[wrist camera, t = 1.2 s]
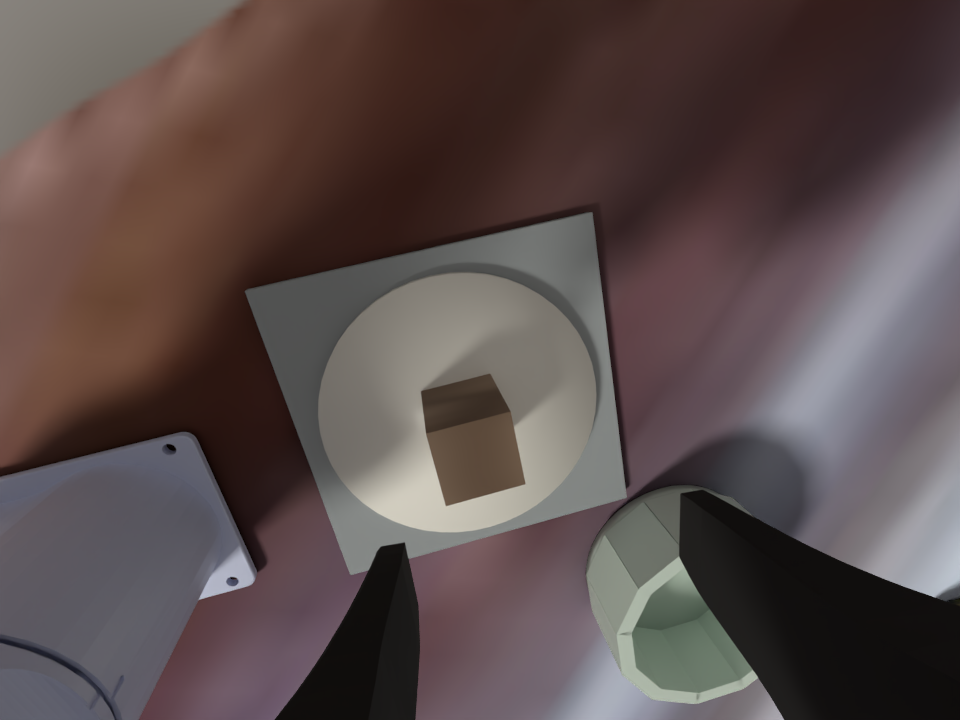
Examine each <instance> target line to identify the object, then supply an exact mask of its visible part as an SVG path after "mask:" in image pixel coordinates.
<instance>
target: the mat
mask: <svg viewBox="0 0 960 720" xmlns="http://www.w3.org/2000/svg"><path fill="white" fill-rule="evenodd" d="M447 272H476V273H486V274H491V275H495V276H499V277H503V278H507V279H509V280H512V281H514V282H517V283H519V284H522V285H524V286H526V287H527V288H529V289H531V290H533V291H535V292H536V293H538V294H540V295H541V296H543V297H544V298H545V299H547V300H548V301H549V302H550V303H552V304H553V305H554V306H556V307H557V308H558V309H559V310H560V311H561V312H562V313H563V314H564V315H565V316H566V317H567V318H568V320H569V321H570V322H571V324H572V325H573V326H574V328H575V329H576V330H577V332H578V333H579V335H580V337H581V339H582V341H583V343H584V344H585V346H586V348H587V351H588V354H589V357H590V359H591V362H592V366H593V371H594V375H595V381H596V411H595V416H594V421H593V426H592V430H591V433H590V436H589V439H588V442H587V444H586V446H585V448H584V450H583V452H582V455H581V457H580V458H579V460H578V462H577V463H576V465H575V466H574V468H573V469H572V471H571V472H570V473H569V475H568V476H567V477H566V478H565V480H564V481H563V482H562V483H561V484H560V485H559V486H558V487H557V488H556V489H555V490H554V491H553V492H552V493H551V494H550V495H549V496H548V497H546V498H545V499H544V500H543V501H541V502H540V503H539V504H537V505H536V506H534V507H533V508H531V509H530V510H528V511H526V512H525V513H523V514H521V515H519V516H517V517H515V518H513V519H511V520H508V521H506V522H503V523H500V524H497V525H495V526H492V527H488V528H483V529H479V530H474V531H465V532H434V531H425V530H420V529H416V528H412V527H408V526H405V525H402V524H400V523H397V522H394V521H392V520H390V519H388V518H386V517H384V516H382V515H380V514H378V513H376V512H375V511H374V510H372V509H371V508H369V507H368V506H366V505H365V504H363V503H362V502H361V501H360V500H359V499H358V498H357V497H356V496H355V495H353V494H352V493H351V492H350V490H349V489H348V488H347V487H346V486H345V484H344V483H343V482H342V481H341V480H340V478H339V477H338V475H337V473H336V472H335V470H334V469H333V467H332V465H331V463H330V461H329V459H328V456H327V454H326V452H325V449H324V446H323V442H322V438H321V435H320V428H319V420H318V398H319V392H320V387H321V381H322V378H323V375H324V372H325V369H326V365H327V363H328V360H329V358H330V356H331V354H332V352H333V350H334V348H335V346H336V344H337V342H338V340H339V339H340V338H341V336H342V335H343V333H344V332H345V330H346V329H347V327H348V326H349V325H350V324H351V323H352V322H353V321H354V319H355V318H356V317H357V316H358V315H359V314H360V313H361V312H362V311H363V310H364V309H366V308H367V307H368V306H369V305H370V304H372V303H373V302H374V301H375V300H377V299H378V298H380V297H381V296H383V295H385V294H386V293H388V292H389V291H391V290H392V289H395V288H397V287H399V286H401V285H403V284H406V283H408V282H410V281H413V280H416V279H419V278H423V277H426V276H429V275H435V274H441V273H447ZM245 293H246V296H247V299H248V301H249V304H250V307H251V309H252V312H253V315H254V318H255V320H256V323H257V326H258V328H259V331H260V334H261V336H262V339H263V342H264V344H265V347H266V350H267V352H268V355H269V358H270V360H271V363H272V366H273V369H274V371H275V374H276V377H277V379H278V382H279V385H280V387H281V390H282V393H283V395H284V398H285V401H286V403H287V406H288V409H289V411H290V414H291V417H292V420H293V422H294V425H295V428H296V430H297V433H298V436H299V438H300V441H301V444H302V446H303V449H304V452H305V454H306V457H307V460H308V463H309V465H310V468H311V471H312V473H313V476H314V479H315V481H316V484H317V487H318V489H319V492H320V495H321V497H322V500H323V503H324V505H325V508H326V511H327V514H328V516H329V519H330V522H331V524H332V527H333V530H334V532H335V535H336V538H337V540H338V543H339V546H340V548H341V551H342V554H343V556H344V559H345V562H346V565H347V567H348V570H349V573H350V575H353V574H356V573H360V572H364V571H367V570H369V568H370V566H371V564H372V562H373V560H374V557H375V555H376V552H377V551H378V549H379V548H380V547H381V546H386V545H392V544H398V543H403V542H405V545H406V550H407V554H408V559H410V558H414V557H417V556H421V555H424V554H428V553H431V552H435V551H439V550H442V549H446V548H449V547H453V546H456V545H460V544H464V543H467V542H471V541H474V540H478V539H481V538H485V537H489V536H492V535H496V534H499V533H503V532H506V531H510V530H514V529H517V528H521V527H524V526H528V525H531V524H535V523H539V522H542V521H546V520H549V519H553V518H556V517H560V516H564V515H567V514H571V513H574V512H578V511H581V510H585V509H589V508H592V507H596V506H599V505H603V504H606V503H610V502H614V501H617V500H621V499H624V498H627V496H626V488H625V479H624V471H623V463H622V454H621V446H620V438H619V429H618V421H617V413H616V404H615V396H614V388H613V379H612V371H611V363H610V354H609V346H608V338H607V329H606V321H605V313H604V304H603V296H602V288H601V279H600V271H599V263H598V254H597V246H596V238H595V229H594V221H593V213H592V212H586V213H582V214H577V215H573V216H568V217H564V218H560V219H555V220H551V221H546V222H542V223H537V224H533V225H529V226H524V227H520V228H515V229H511V230H507V231H502V232H498V233H493V234H489V235H484V236H480V237H476V238H471V239H467V240H462V241H458V242H453V243H449V244H445V245H440V246H436V247H431V248H427V249H422V250H418V251H414V252H409V253H405V254H400V255H396V256H392V257H387V258H383V259H378V260H374V261H369V262H365V263H361V264H356V265H352V266H347V267H343V268H338V269H334V270H330V271H325V272H321V273H316V274H312V275H308V276H303V277H299V278H294V279H290V280H285V281H281V282H277V283H272V284H268V285H263V286H259V287H254V288H250V289H247V290H246V291H245Z"/></svg>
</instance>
